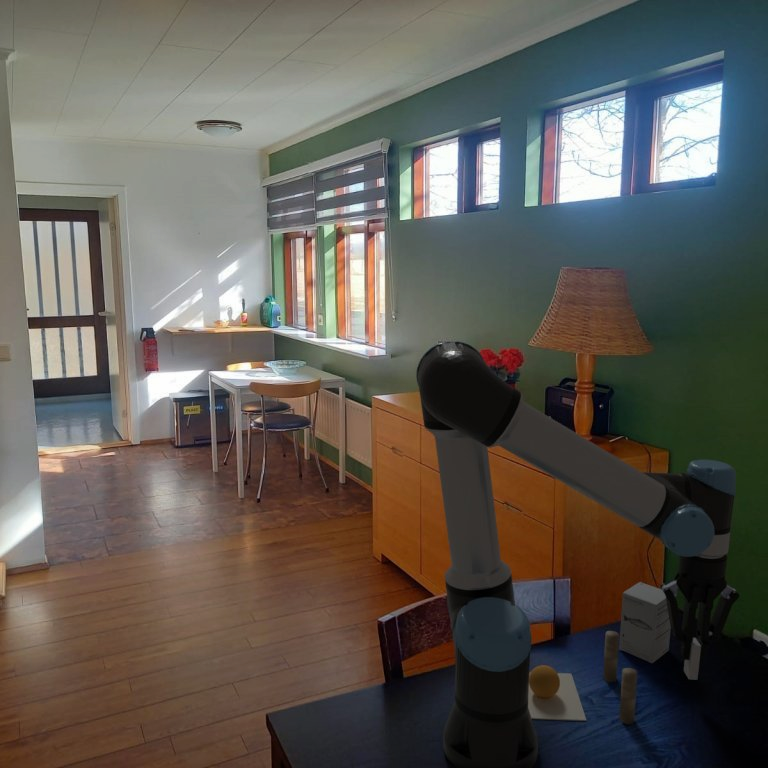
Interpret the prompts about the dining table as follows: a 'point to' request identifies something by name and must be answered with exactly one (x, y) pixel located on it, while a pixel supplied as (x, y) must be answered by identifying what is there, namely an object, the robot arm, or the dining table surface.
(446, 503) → the robot arm
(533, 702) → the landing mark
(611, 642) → the left post
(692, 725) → the dining table surface
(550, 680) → the ball
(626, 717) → the right post
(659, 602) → the supplement box
